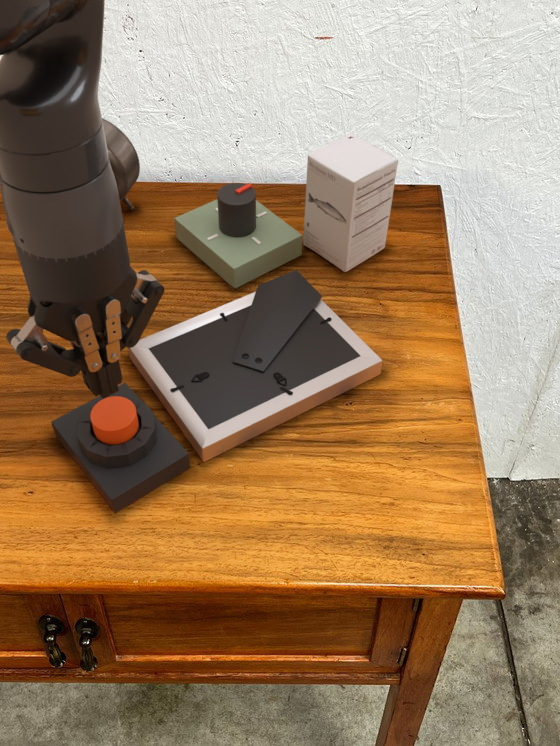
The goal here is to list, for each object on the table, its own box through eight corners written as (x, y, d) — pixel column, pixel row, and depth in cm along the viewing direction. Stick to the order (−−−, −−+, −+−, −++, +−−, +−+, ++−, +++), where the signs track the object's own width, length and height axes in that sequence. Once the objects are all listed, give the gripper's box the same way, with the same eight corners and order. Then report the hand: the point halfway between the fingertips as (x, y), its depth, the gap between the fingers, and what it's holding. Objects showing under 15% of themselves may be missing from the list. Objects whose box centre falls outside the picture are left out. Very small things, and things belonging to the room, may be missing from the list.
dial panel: (176, 238, 95) (173, 216, 92) (241, 208, 99) (241, 187, 97) (234, 289, 88) (233, 267, 86) (301, 255, 93) (302, 233, 90)
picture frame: (295, 288, 89) (130, 358, 81) (296, 269, 86) (126, 339, 79) (380, 374, 80) (203, 462, 72) (383, 355, 78) (201, 443, 70)
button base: (55, 436, 74) (46, 409, 71) (128, 396, 77) (122, 369, 74) (115, 513, 68) (108, 488, 65) (190, 467, 72) (187, 441, 69)
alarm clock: (147, 204, 99) (130, 84, 87) (129, 229, 96) (109, 107, 84) (70, 189, 101) (44, 69, 89) (49, 212, 98) (19, 91, 86)
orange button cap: (85, 424, 70) (81, 410, 69) (124, 403, 72) (121, 389, 70) (108, 452, 68) (104, 438, 67) (147, 430, 70) (144, 416, 68)
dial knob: (236, 242, 89) (234, 207, 86) (211, 225, 91) (209, 190, 88) (263, 226, 91) (263, 191, 88) (239, 210, 94) (237, 175, 90)
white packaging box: (300, 245, 94) (304, 153, 85) (343, 221, 97) (352, 130, 88) (344, 275, 90) (353, 182, 81) (387, 249, 94) (400, 156, 84)
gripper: (0, 288, 48) (56, 456, 61) (178, 211, 54) (195, 379, 67) (-48, 230, 52) (13, 399, 65) (122, 165, 58) (148, 331, 71)
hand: (105, 389), depth 66 cm, fingers closed
